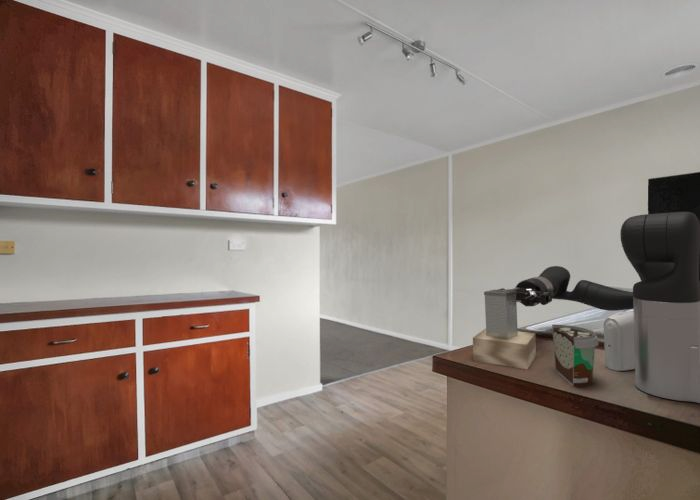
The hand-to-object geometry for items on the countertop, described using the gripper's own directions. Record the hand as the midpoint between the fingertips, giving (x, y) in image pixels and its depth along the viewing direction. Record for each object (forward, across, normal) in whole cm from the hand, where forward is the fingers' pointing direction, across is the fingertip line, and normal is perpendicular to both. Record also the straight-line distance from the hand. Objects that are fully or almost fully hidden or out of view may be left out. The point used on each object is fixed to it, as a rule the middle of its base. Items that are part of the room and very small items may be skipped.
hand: (508, 300), depth 90 cm
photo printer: (-7, -23, -14) cm, 28 cm away
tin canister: (+6, 0, -8) cm, 10 cm away
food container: (+8, -18, -14) cm, 24 cm away
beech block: (+6, -1, -14) cm, 15 cm away
